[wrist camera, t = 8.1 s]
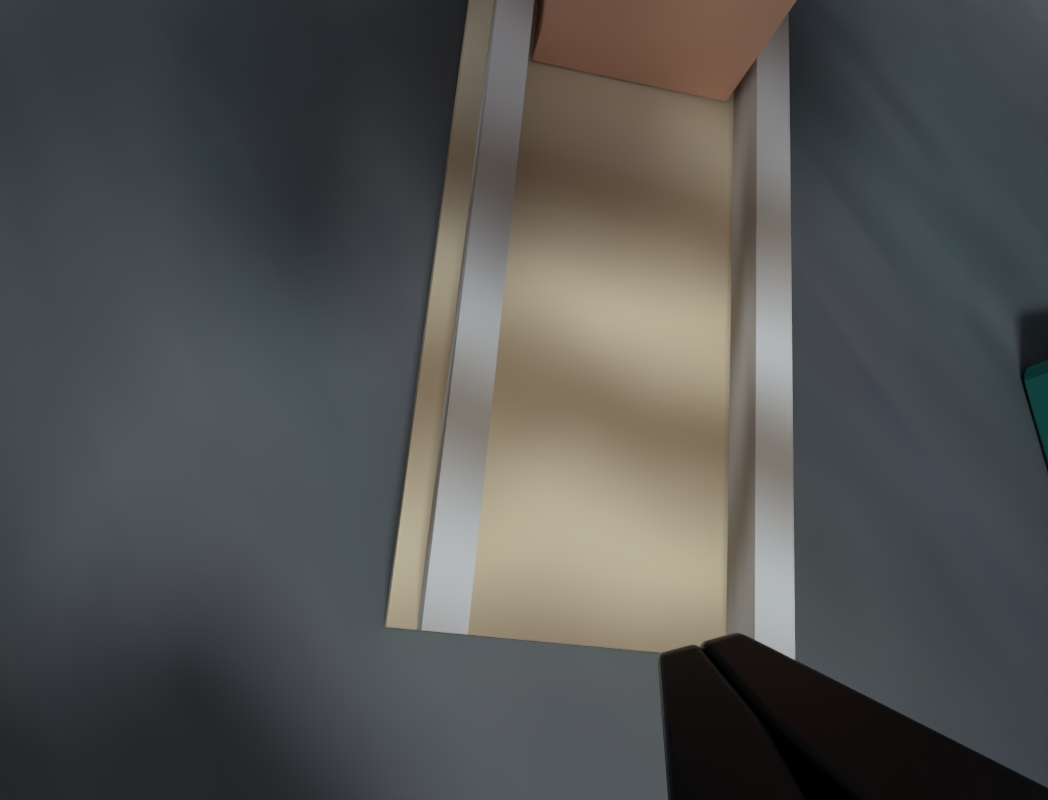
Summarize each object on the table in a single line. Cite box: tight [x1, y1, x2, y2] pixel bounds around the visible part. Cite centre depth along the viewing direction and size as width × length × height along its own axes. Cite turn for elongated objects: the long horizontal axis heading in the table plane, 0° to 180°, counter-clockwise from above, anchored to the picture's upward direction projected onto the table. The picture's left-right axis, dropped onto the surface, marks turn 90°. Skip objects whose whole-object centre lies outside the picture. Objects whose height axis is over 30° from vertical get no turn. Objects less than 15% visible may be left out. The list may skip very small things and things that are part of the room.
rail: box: [384, 0, 795, 660], centre depth 21 cm, size 23×10×6 cm, turn 174°
